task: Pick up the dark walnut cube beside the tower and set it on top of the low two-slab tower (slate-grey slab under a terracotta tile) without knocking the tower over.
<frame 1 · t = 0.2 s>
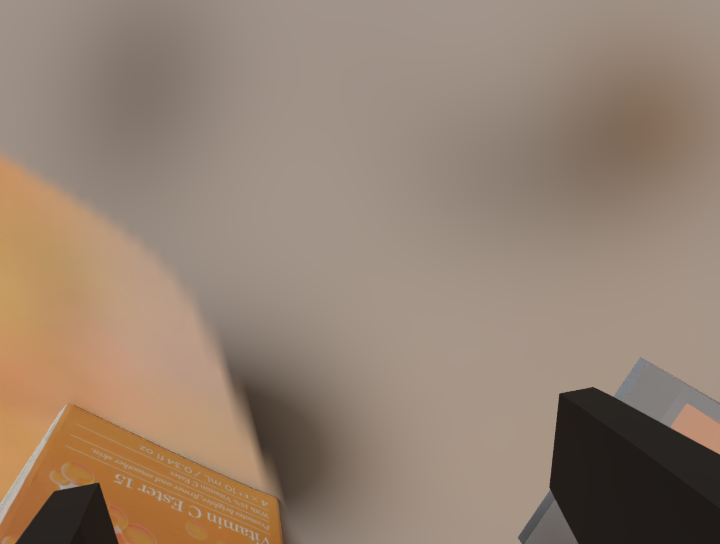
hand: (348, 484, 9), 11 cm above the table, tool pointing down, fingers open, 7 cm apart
terracotta tile: (696, 526, 23), point 2 cm above the table, touching slate slab
small box: (132, 515, 21), on the table
slate slab: (653, 486, 26), on the table, touching terracotta tile
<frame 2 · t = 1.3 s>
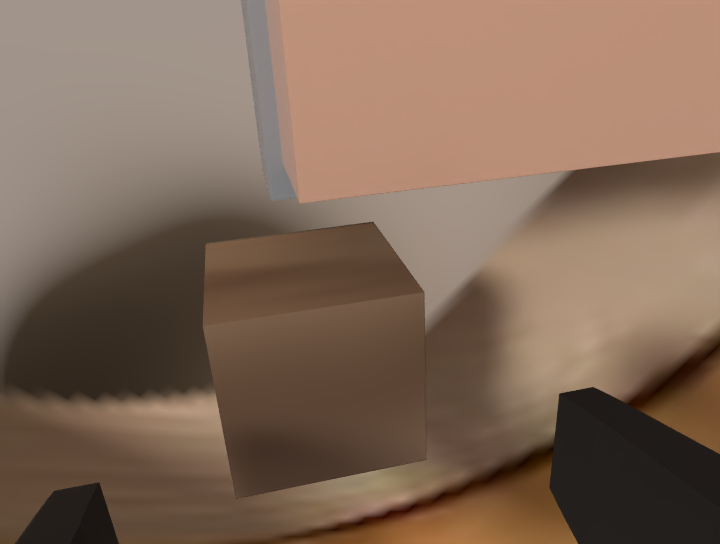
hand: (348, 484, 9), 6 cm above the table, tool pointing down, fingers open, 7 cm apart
walnut cube: (299, 306, 15), on the table
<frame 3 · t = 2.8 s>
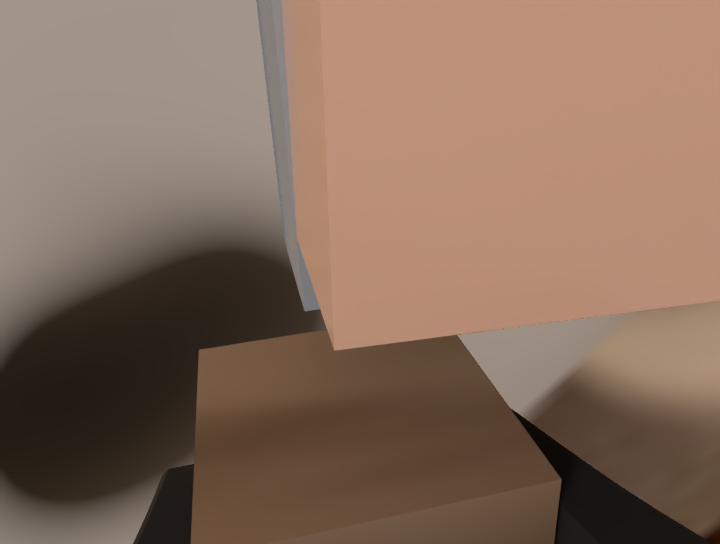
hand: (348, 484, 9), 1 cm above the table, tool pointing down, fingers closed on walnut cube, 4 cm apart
walnut cube: (332, 426, 11), on the table, touching gripper
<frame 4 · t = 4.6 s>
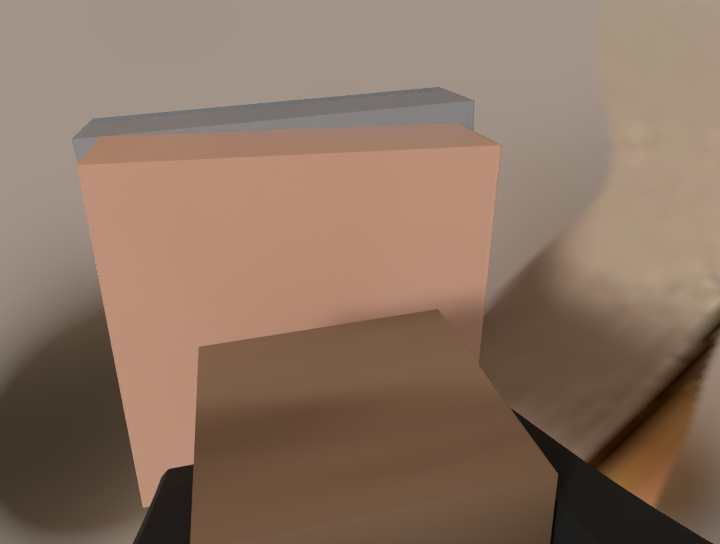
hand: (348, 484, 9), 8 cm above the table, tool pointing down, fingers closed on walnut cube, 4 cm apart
terracotta tile: (296, 288, 15), point 2 cm above the table, touching slate slab
slate slab: (292, 259, 17), on the table, touching terracotta tile
walnut cube: (331, 423, 11), point 7 cm above the table, touching gripper
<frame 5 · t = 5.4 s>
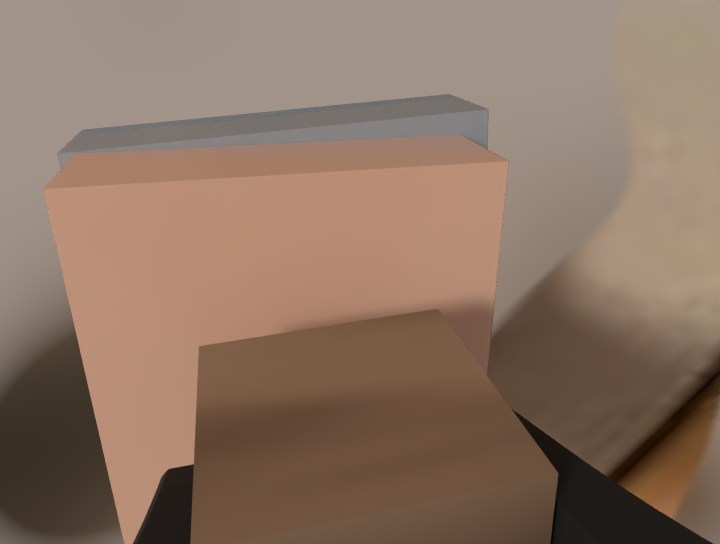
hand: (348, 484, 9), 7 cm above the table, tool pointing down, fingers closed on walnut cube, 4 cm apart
terracotta tile: (289, 311, 14), point 2 cm above the table, touching slate slab
slate slab: (294, 276, 17), on the table, touching terracotta tile
walnut cube: (331, 423, 11), point 6 cm above the table, touching gripper
when the fingers open (7 cm above the table, at t = 6.1 s): walnut cube drops 2 cm, resting on terracotta tile.
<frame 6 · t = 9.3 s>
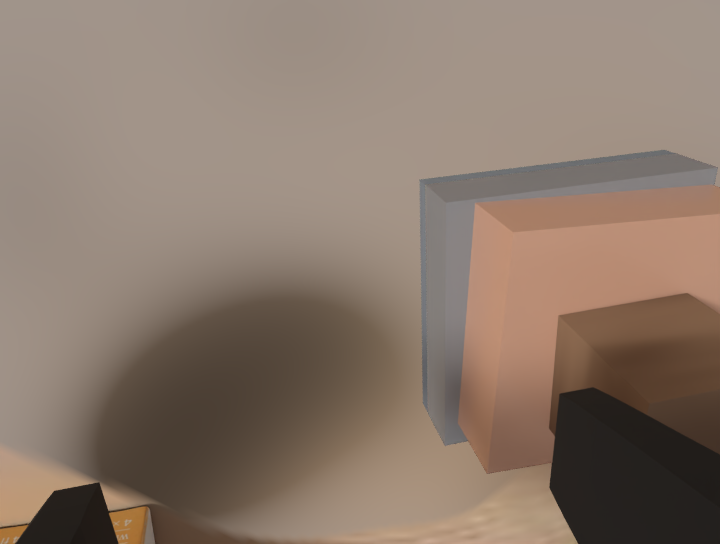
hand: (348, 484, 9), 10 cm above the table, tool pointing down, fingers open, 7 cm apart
terracotta tile: (578, 308, 20), point 2 cm above the table, touching slate slab, walnut cube
slate slab: (537, 282, 22), on the table, touching terracotta tile
walnut cube: (615, 362, 18), point 4 cm above the table, touching terracotta tile
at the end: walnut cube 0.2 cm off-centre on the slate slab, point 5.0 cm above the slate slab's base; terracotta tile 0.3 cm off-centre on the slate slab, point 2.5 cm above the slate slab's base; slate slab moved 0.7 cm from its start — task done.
